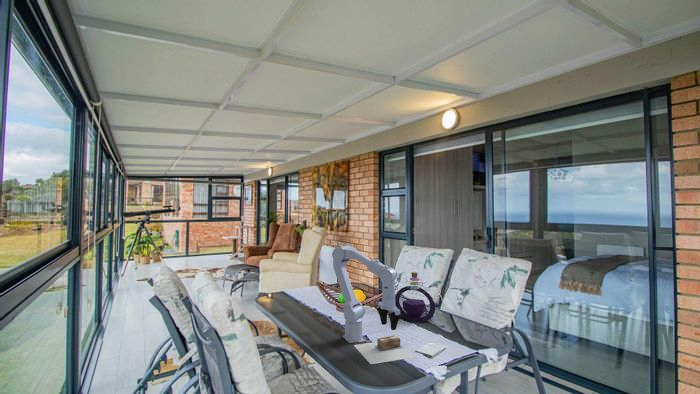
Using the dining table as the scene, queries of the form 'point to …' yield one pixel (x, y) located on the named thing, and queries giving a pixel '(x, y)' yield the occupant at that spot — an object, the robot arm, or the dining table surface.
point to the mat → (382, 353)
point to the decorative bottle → (415, 303)
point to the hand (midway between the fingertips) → (388, 326)
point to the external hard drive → (431, 349)
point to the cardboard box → (388, 342)
